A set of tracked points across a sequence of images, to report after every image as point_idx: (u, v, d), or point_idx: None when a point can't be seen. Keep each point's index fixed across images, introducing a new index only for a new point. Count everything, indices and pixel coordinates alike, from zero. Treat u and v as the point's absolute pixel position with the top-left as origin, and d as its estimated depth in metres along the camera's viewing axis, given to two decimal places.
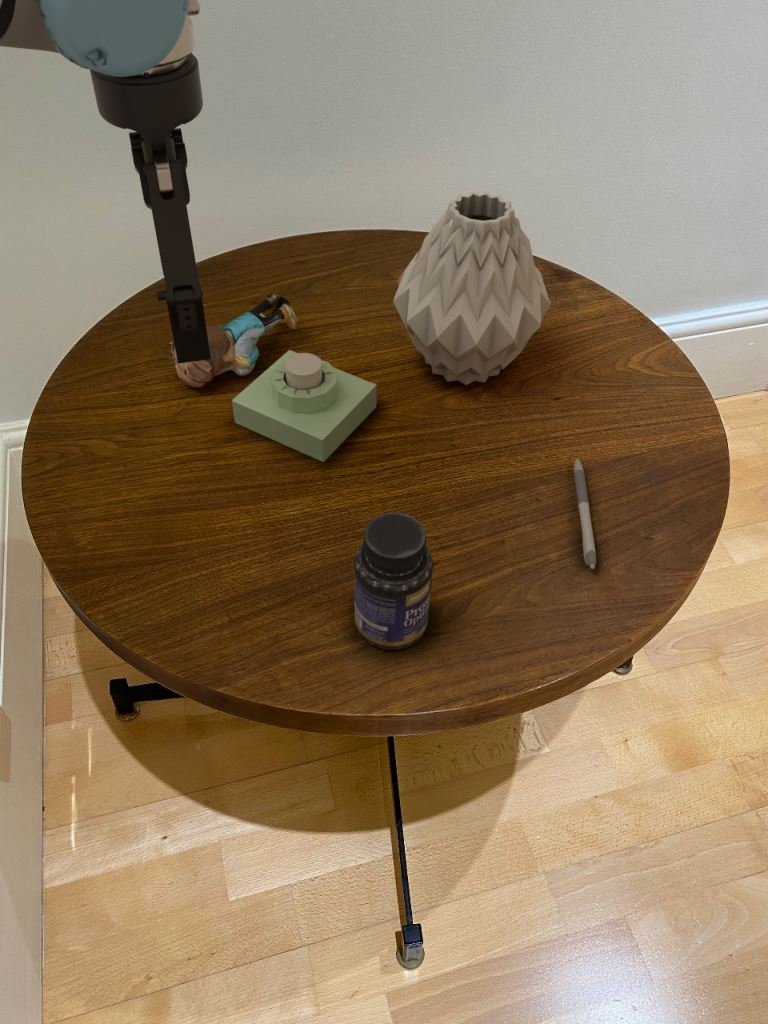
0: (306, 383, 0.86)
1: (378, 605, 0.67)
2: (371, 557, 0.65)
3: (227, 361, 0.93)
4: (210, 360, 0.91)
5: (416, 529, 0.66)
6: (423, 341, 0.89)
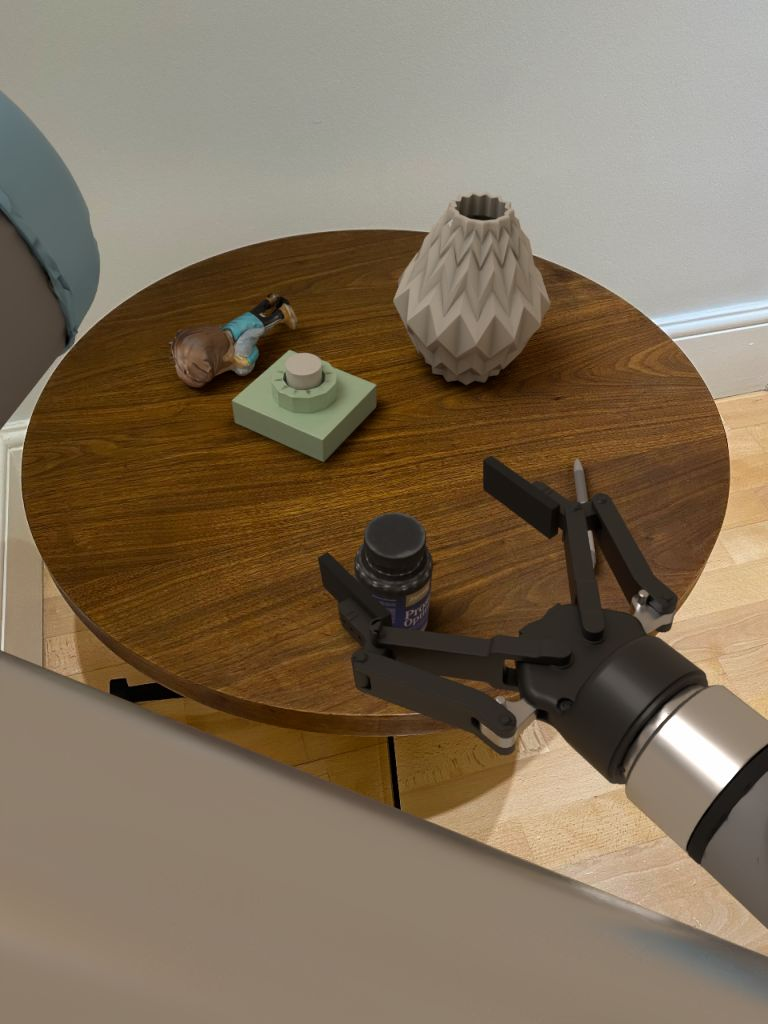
0: (306, 383, 0.86)
1: None
2: (371, 557, 0.65)
3: (226, 361, 0.93)
4: (210, 360, 0.91)
5: (416, 529, 0.66)
6: (423, 341, 0.89)
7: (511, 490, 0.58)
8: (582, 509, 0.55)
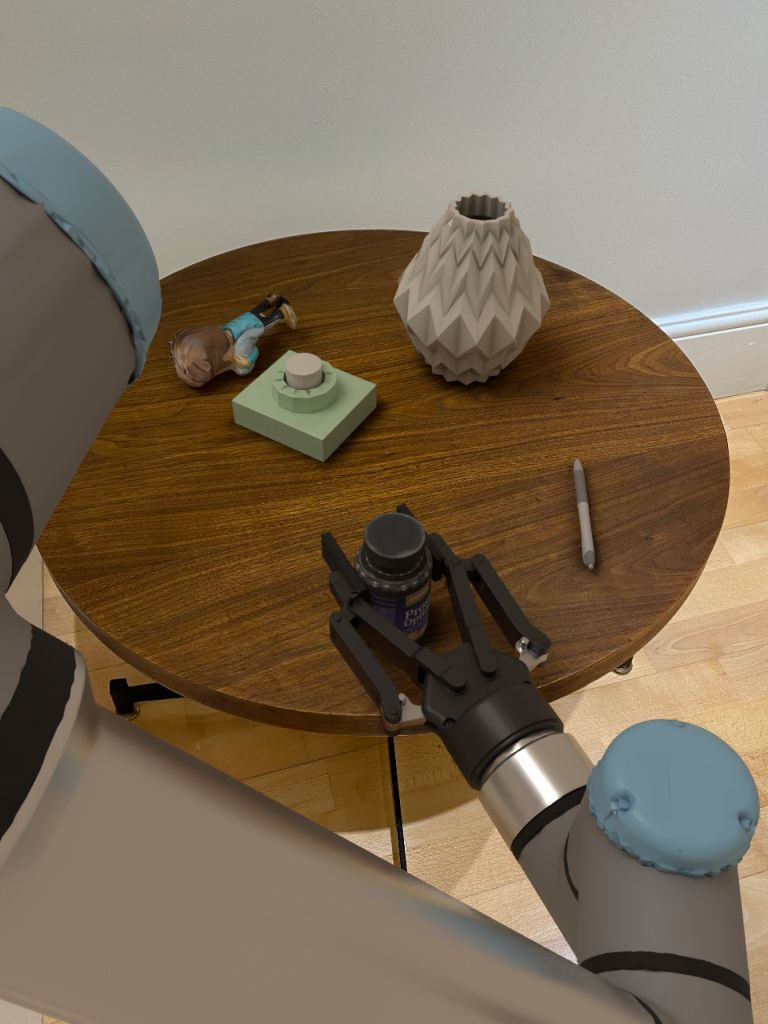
0: (306, 383, 0.86)
1: (378, 605, 0.67)
2: (371, 557, 0.65)
3: (226, 361, 0.93)
4: (210, 360, 0.91)
5: (416, 529, 0.66)
6: (423, 341, 0.89)
7: None
8: (462, 563, 0.68)
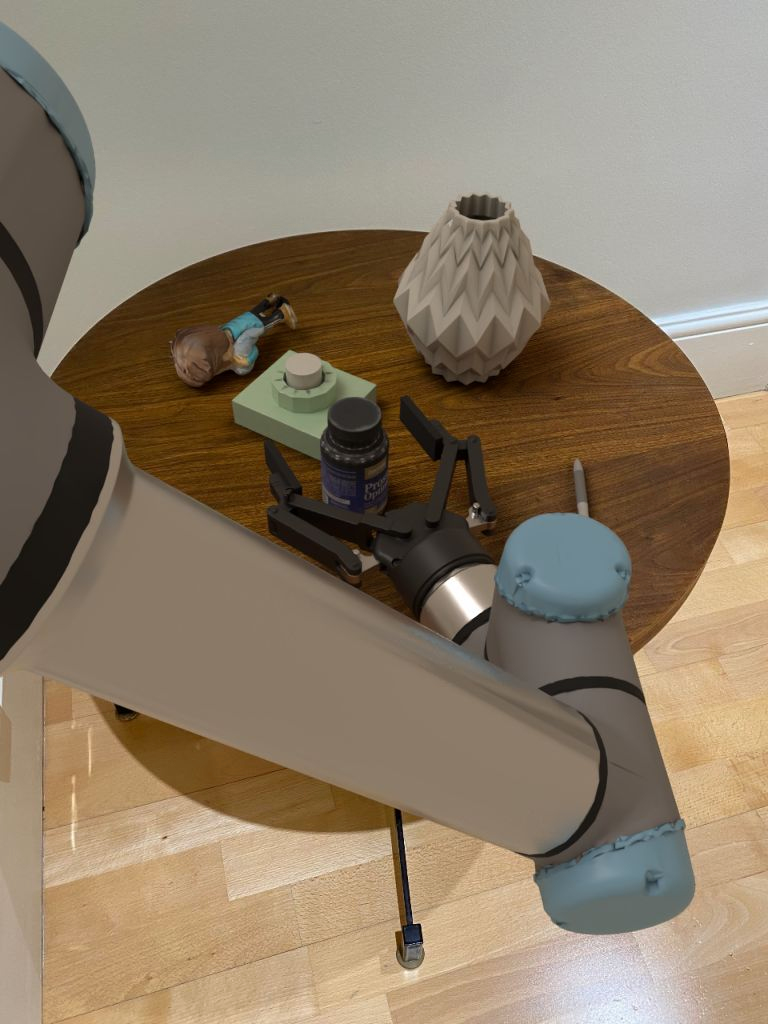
0: (306, 383, 0.86)
1: (341, 478, 0.76)
2: (333, 432, 0.74)
3: (226, 361, 0.93)
4: (209, 359, 0.91)
5: (373, 409, 0.75)
6: (423, 341, 0.89)
7: (414, 422, 0.80)
8: (457, 443, 0.77)
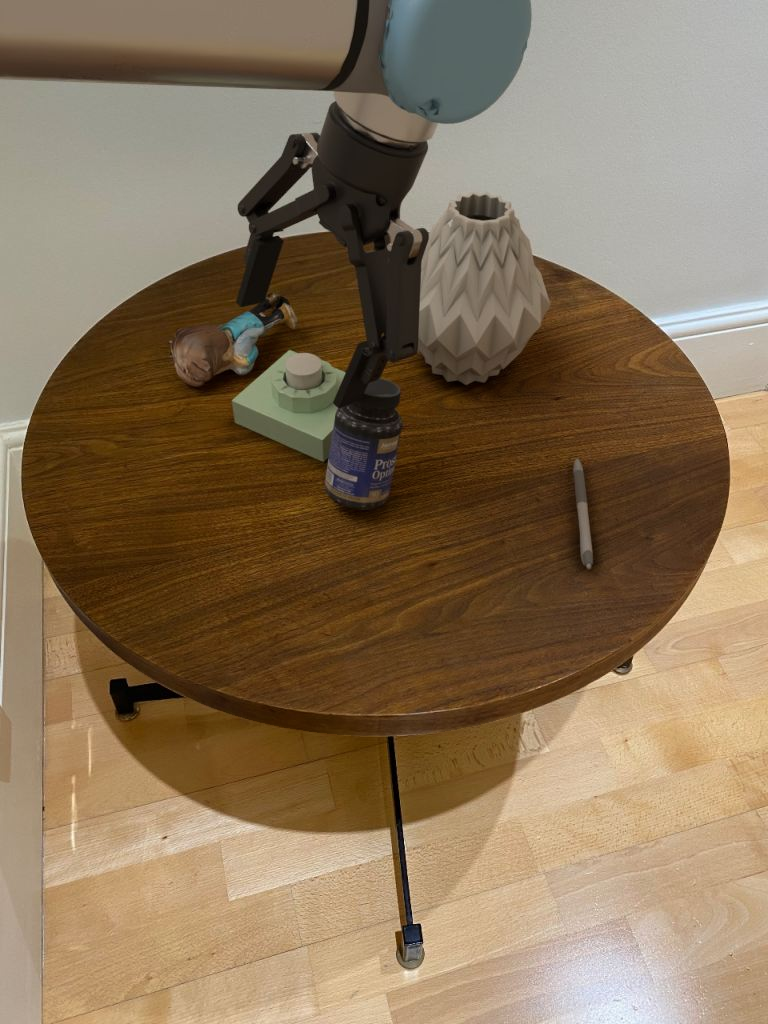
0: (306, 383, 0.86)
1: (353, 449, 0.76)
2: None
3: (226, 360, 0.93)
4: (209, 359, 0.91)
5: (392, 386, 0.77)
6: (423, 341, 0.89)
7: (256, 279, 0.76)
8: (252, 222, 0.72)
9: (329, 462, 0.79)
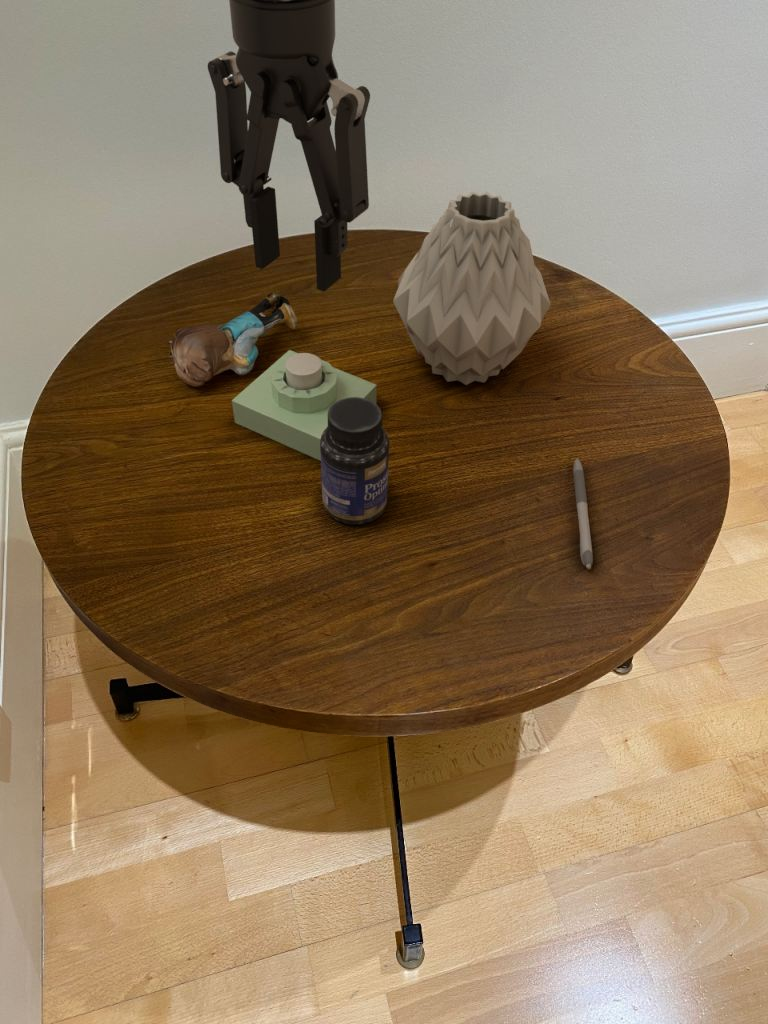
0: (306, 383, 0.86)
1: (341, 479, 0.76)
2: (333, 433, 0.74)
3: (226, 360, 0.93)
4: (209, 359, 0.91)
5: (373, 410, 0.75)
6: (423, 341, 0.89)
7: (265, 236, 0.77)
8: (239, 183, 0.74)
9: (322, 483, 0.80)
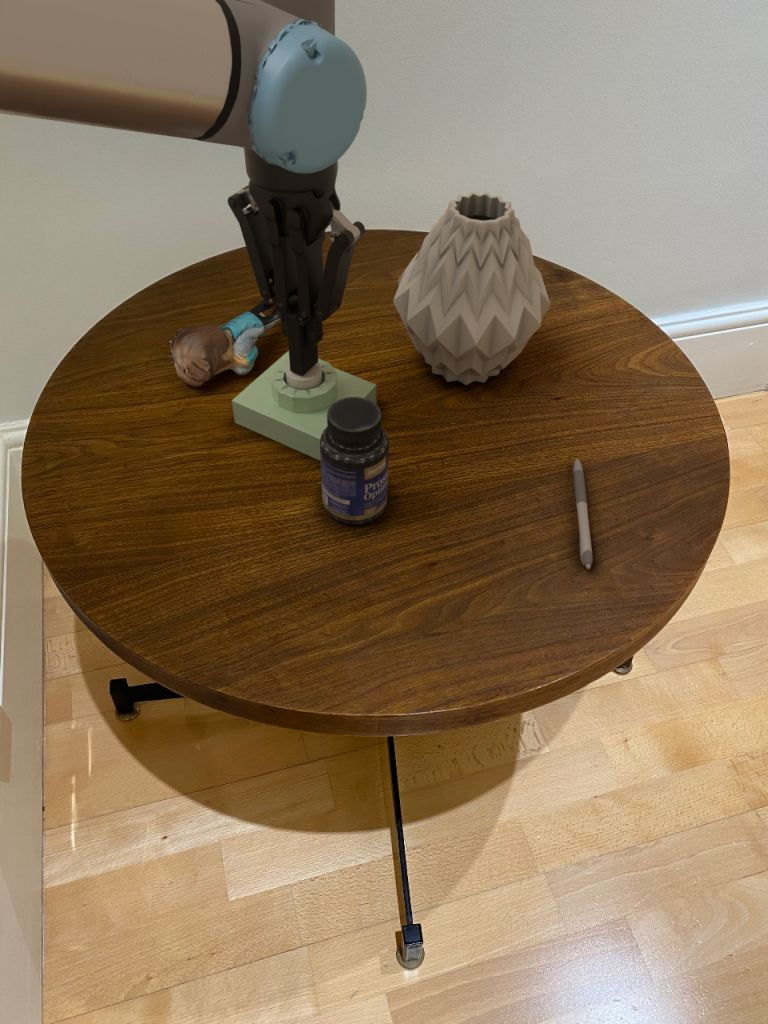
0: (307, 388, 0.86)
1: (341, 479, 0.76)
2: (333, 432, 0.74)
3: (226, 360, 0.93)
4: (209, 359, 0.91)
5: (373, 409, 0.75)
6: (423, 341, 0.89)
7: None
8: (277, 302, 0.81)
9: (322, 483, 0.79)
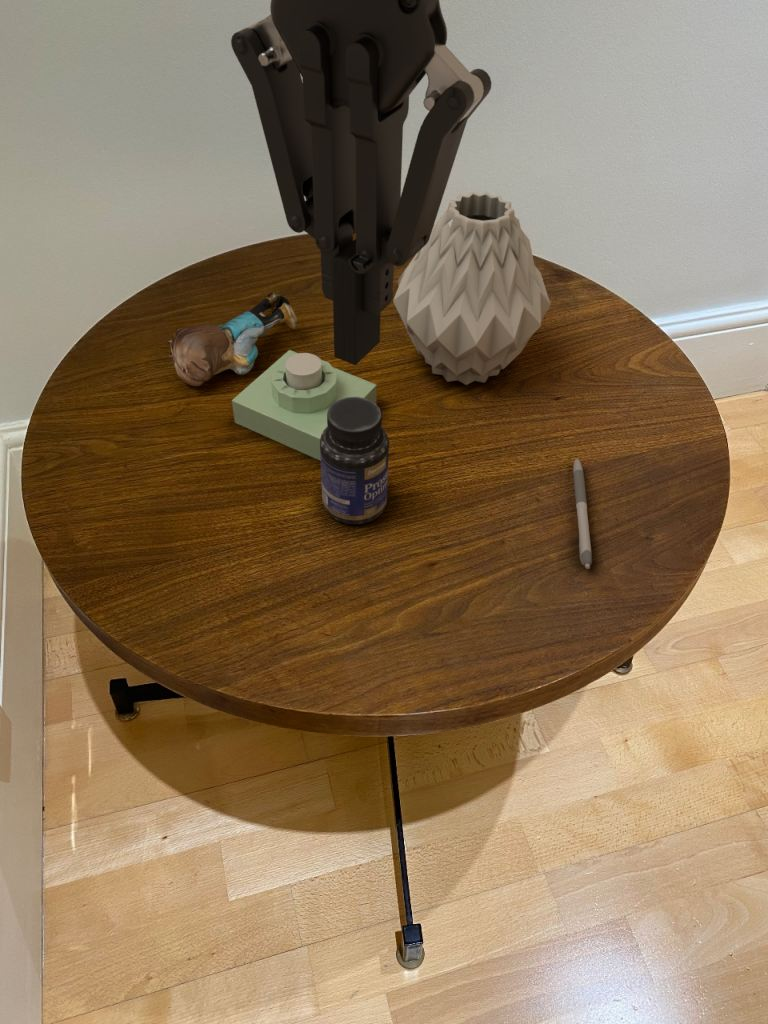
0: (306, 383, 0.86)
1: (341, 479, 0.76)
2: (333, 432, 0.74)
3: (226, 360, 0.93)
4: (209, 359, 0.91)
5: (373, 409, 0.75)
6: (423, 341, 0.89)
7: None
8: (316, 236, 0.46)
9: (322, 483, 0.79)
